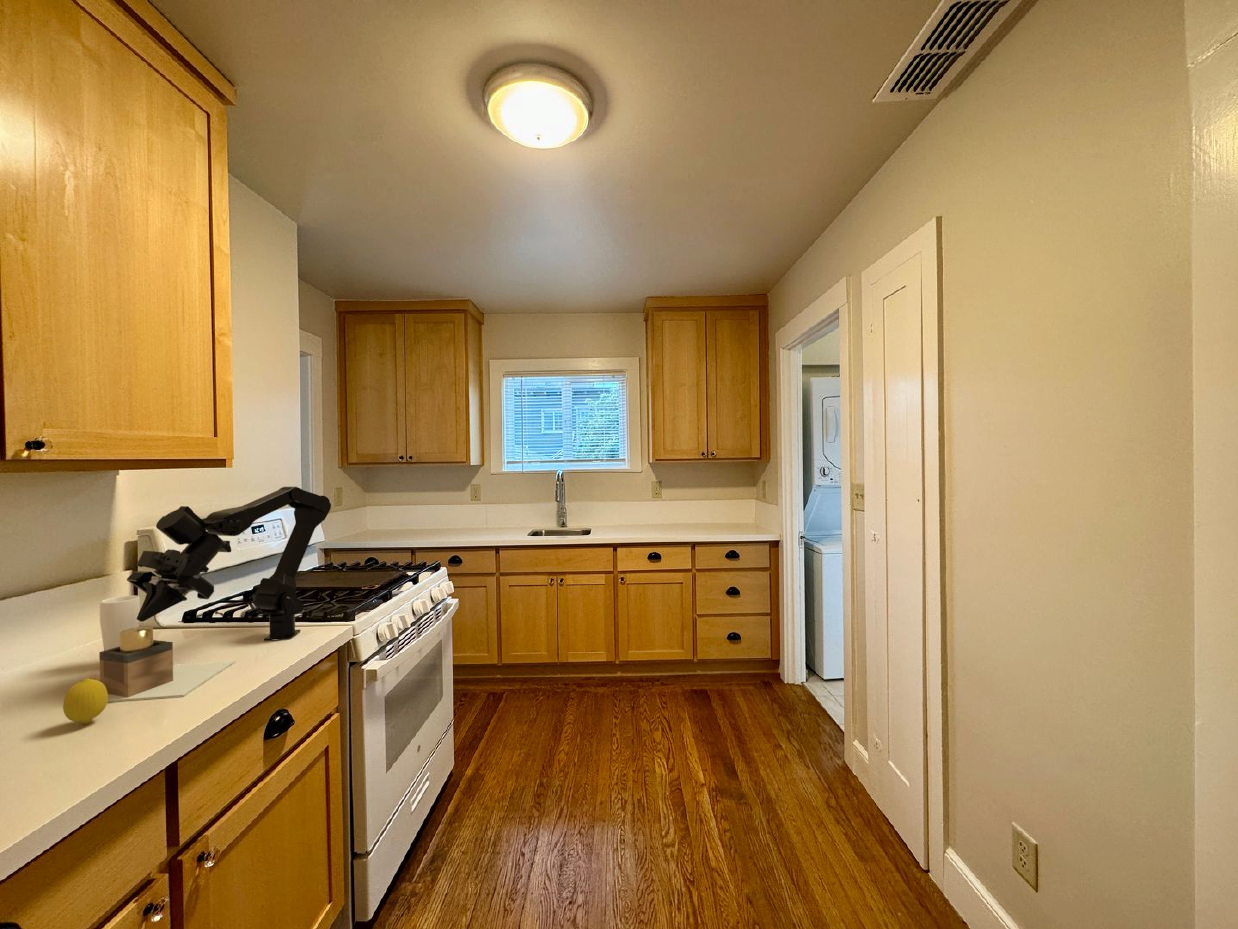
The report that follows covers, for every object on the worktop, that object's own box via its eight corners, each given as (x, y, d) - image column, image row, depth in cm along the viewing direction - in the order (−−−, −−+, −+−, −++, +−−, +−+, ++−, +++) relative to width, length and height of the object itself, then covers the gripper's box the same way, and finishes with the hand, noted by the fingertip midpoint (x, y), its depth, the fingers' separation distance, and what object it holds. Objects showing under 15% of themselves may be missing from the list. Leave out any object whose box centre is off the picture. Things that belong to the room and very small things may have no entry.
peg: (142, 661, 110) (142, 625, 110) (159, 663, 109) (159, 627, 109) (114, 670, 105) (113, 632, 105) (131, 672, 104) (130, 634, 104)
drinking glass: (95, 666, 119) (94, 600, 119) (133, 656, 125) (132, 594, 125) (108, 671, 116) (106, 604, 116) (146, 661, 122) (145, 597, 122)
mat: (147, 668, 118) (147, 666, 118) (235, 662, 121) (235, 660, 121) (78, 704, 100) (78, 702, 100) (183, 696, 103) (183, 694, 103)
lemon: (56, 734, 89) (55, 687, 89) (74, 720, 94) (73, 675, 94) (99, 727, 91) (98, 681, 91) (114, 713, 96) (113, 670, 96)
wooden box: (146, 678, 112) (145, 639, 112) (173, 682, 110) (172, 642, 110) (100, 694, 104) (99, 652, 104) (128, 699, 102) (127, 655, 102)
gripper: (136, 534, 115) (73, 596, 105) (199, 536, 110) (139, 602, 99) (176, 563, 123) (120, 624, 112) (236, 567, 118) (184, 631, 107)
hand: (139, 620), depth 108 cm, fingers closed
